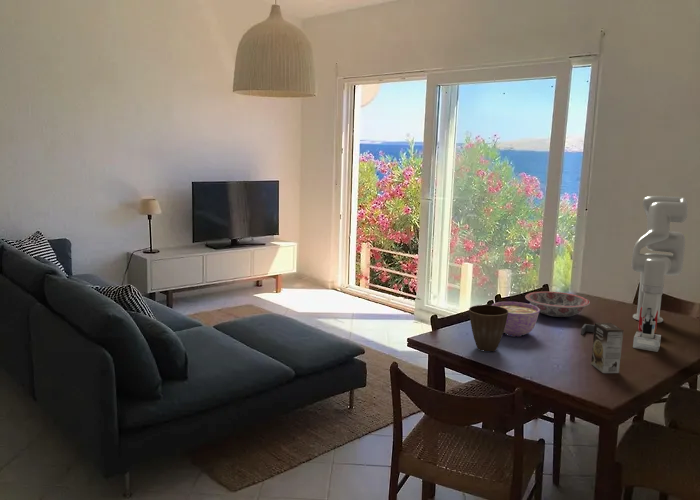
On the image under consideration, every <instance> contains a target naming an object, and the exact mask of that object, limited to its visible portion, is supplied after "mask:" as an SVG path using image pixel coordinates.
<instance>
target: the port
mask: <svg viewBox="0 0 700 500" xmlns="http://www.w3.org/2000/svg"><path fill="white" fill-rule="evenodd" d="M661 339H662V335H661V334H656V333H654V339H651V338H645V337H642V332H640V331H639V330H638V331H637V330H636V332H635V334H634V336H633V340H632V341H633V343H632V348H634V349H639V350H644V351H651V352H656V353H657V352H659V350H660V346H661Z"/></svg>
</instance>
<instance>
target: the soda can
mask: <svg viewBox="0 0 700 500" xmlns="http://www.w3.org/2000/svg"><path fill="white" fill-rule="evenodd" d="M641 313H642V307H641V309H640V315H639V321H638V325H637V326H638V327H637V328H638V332H642V329H643V321H644V318H645V316H644V317H641ZM657 318H658V310H657V313H656V316H655V318H654V319H655V331H654V334H656V332H657V327H658V323H657Z"/></svg>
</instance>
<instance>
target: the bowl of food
mask: <svg viewBox="0 0 700 500" xmlns="http://www.w3.org/2000/svg"><path fill="white" fill-rule="evenodd" d="M491 305H492V306H498V307H502V308H505V309H507V310H508V316H507V321H506V325H505V329H504V332H503V334H504V333H506V334H508V335H507V336H509V335H512V336H511V337H515V336H517V337H522V336H521V335H523V336H524V335H527V334H529V333H531V332H532V331H533V329H534V328H535V327H536V324H537V320H538V318H539V315H540V309H539V308H538V307H536V306H534V305H531V303H526V302H520V301H519V302H518V301H498V302H494V303H492V304H491ZM506 334H505V335H506Z"/></svg>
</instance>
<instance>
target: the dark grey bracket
mask: <svg viewBox="0 0 700 500" xmlns="http://www.w3.org/2000/svg"><path fill="white" fill-rule="evenodd" d="M594 326H595V324H587V323H584V324H583V325H582V327H581V328H580V329H581V331H580V332H581V333H580V335H582V336H584V334H585V333H586V332H589V333H594Z"/></svg>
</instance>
